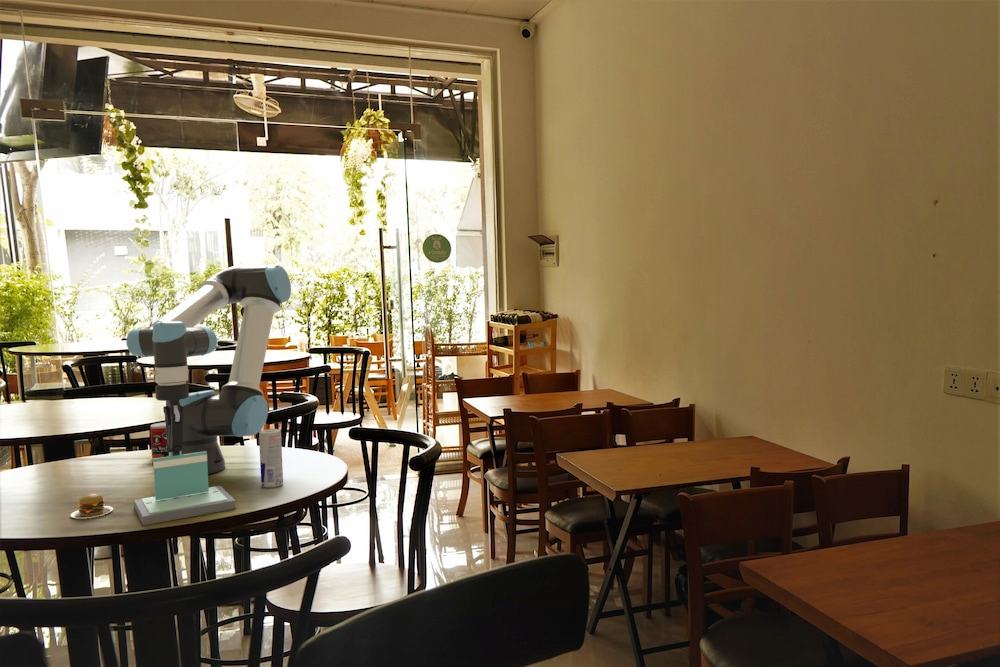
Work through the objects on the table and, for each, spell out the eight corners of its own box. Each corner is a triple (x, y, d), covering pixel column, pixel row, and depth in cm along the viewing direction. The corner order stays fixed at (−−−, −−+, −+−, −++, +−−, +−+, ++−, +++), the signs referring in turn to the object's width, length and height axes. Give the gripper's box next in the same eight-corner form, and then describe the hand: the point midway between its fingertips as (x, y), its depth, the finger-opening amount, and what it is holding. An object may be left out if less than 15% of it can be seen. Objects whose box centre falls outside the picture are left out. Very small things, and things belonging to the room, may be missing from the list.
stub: (155, 499, 170) (152, 458, 169) (208, 490, 177) (206, 451, 176) (155, 500, 169) (153, 459, 169) (208, 491, 176) (206, 451, 175)
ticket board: (134, 508, 172) (133, 498, 172) (220, 493, 183) (220, 484, 183) (143, 525, 159) (142, 514, 159) (235, 508, 170) (235, 498, 170)
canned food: (146, 461, 222) (144, 426, 222) (162, 455, 230) (161, 421, 229) (168, 461, 221) (167, 426, 220) (184, 455, 229) (182, 421, 228)
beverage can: (286, 482, 192) (284, 428, 191) (278, 488, 187) (275, 432, 186) (266, 482, 193) (264, 428, 192) (257, 488, 187) (255, 432, 186)
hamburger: (116, 505, 177) (115, 483, 177) (124, 517, 167) (123, 494, 167) (60, 515, 170) (59, 493, 170) (65, 528, 160) (64, 504, 160)
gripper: (151, 382, 180) (156, 473, 182) (159, 387, 169) (164, 484, 171) (183, 379, 184) (187, 469, 186) (192, 384, 174) (197, 479, 175)
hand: (176, 476), depth 178 cm, fingers closed
